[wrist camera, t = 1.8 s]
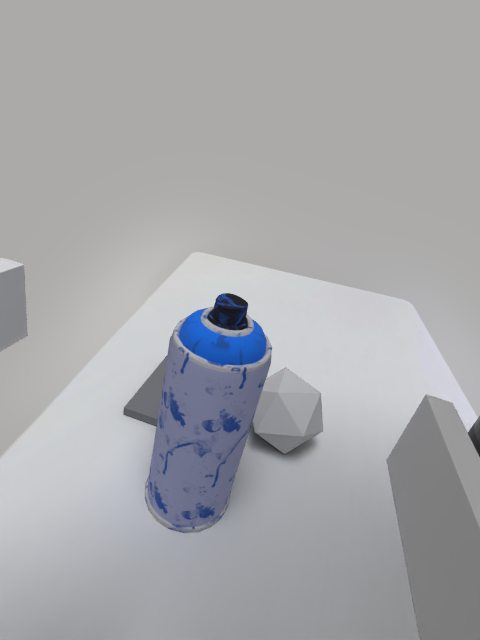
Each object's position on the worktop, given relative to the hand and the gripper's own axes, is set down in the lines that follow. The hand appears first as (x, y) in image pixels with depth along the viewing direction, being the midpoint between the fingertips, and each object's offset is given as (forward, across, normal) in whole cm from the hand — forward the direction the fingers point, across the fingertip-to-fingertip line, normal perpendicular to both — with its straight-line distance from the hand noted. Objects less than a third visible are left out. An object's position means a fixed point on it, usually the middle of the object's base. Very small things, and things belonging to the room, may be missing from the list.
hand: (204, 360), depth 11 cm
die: (+24, +6, -23) cm, 34 cm away
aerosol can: (+13, -1, -24) cm, 27 cm away
